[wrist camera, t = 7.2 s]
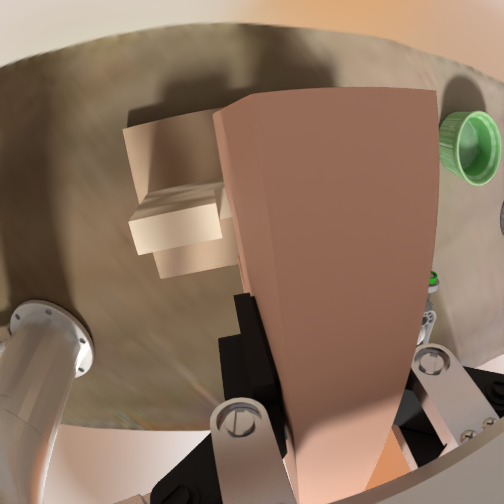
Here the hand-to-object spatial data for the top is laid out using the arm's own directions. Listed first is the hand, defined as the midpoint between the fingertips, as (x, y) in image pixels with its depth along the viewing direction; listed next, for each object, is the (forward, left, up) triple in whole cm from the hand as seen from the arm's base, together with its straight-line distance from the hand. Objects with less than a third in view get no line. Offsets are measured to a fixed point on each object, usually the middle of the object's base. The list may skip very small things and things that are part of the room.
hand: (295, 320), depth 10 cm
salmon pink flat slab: (0, 0, -10) cm, 10 cm away
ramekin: (+28, +2, -21) cm, 35 cm away
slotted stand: (0, 0, -21) cm, 21 cm away
